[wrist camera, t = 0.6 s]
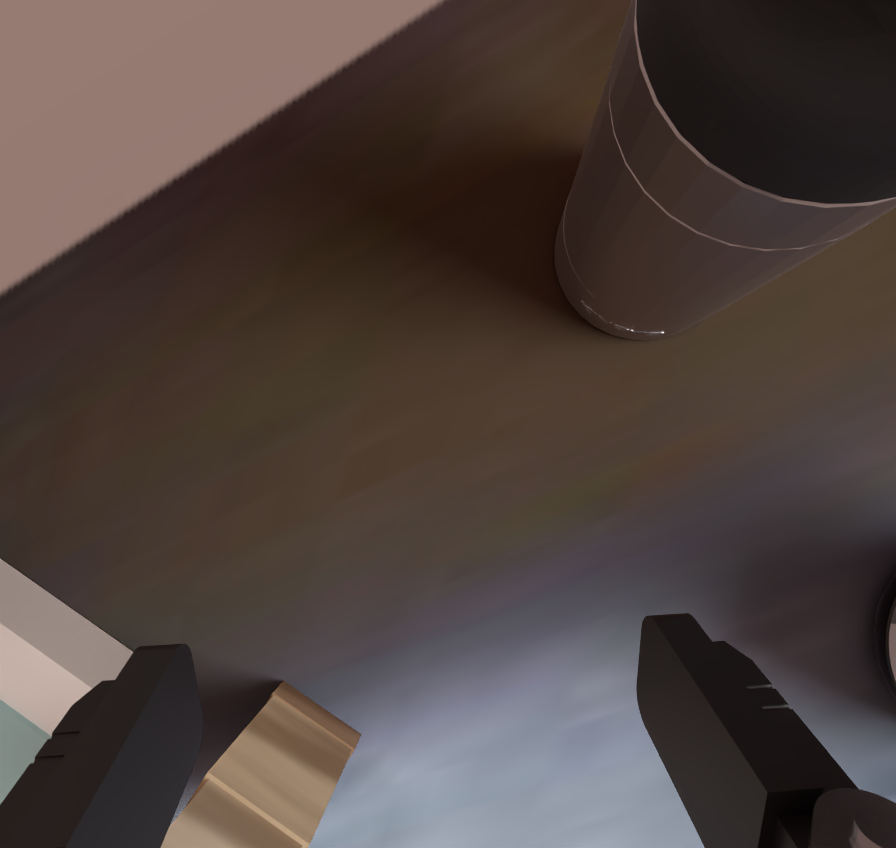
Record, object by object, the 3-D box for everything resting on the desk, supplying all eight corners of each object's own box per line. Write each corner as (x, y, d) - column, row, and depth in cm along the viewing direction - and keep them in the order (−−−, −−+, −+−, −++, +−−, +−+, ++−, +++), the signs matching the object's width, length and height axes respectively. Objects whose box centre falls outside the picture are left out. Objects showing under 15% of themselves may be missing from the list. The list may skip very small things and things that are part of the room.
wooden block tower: (283, 680, 31) (147, 836, 19) (361, 734, 31) (275, 930, 18) (233, 759, 31) (64, 967, 19) (310, 814, 31) (190, 1063, 18)
